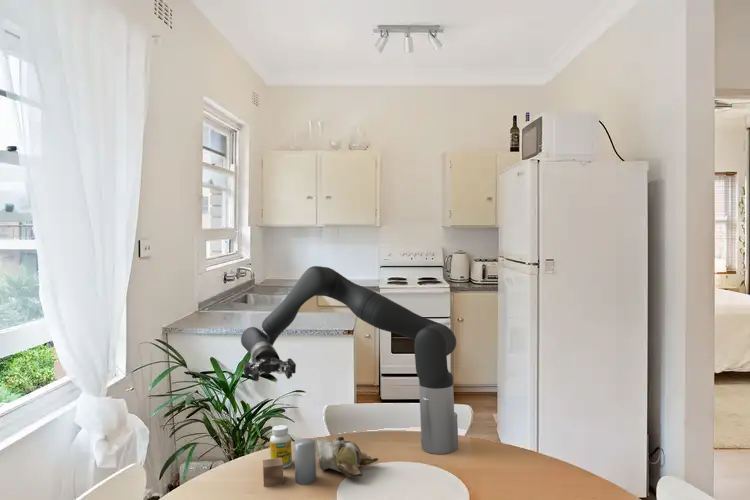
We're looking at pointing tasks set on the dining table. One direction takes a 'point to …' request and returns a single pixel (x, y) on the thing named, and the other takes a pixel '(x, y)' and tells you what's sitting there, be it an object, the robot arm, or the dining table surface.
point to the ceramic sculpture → (342, 456)
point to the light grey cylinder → (305, 461)
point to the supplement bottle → (281, 445)
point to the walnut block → (273, 472)
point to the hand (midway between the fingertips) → (273, 376)
